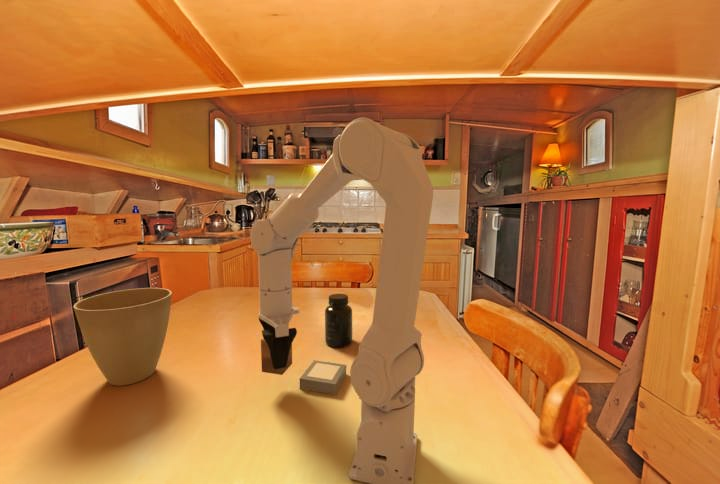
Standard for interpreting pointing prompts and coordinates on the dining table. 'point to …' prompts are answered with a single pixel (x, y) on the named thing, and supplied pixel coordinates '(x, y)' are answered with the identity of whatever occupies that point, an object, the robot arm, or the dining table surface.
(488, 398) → the dining table surface
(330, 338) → the supplement bottle
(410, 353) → the robot arm
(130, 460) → the dining table surface
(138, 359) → the plant pot
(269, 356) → the walnut block
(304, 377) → the base tile
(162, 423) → the dining table surface
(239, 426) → the dining table surface
